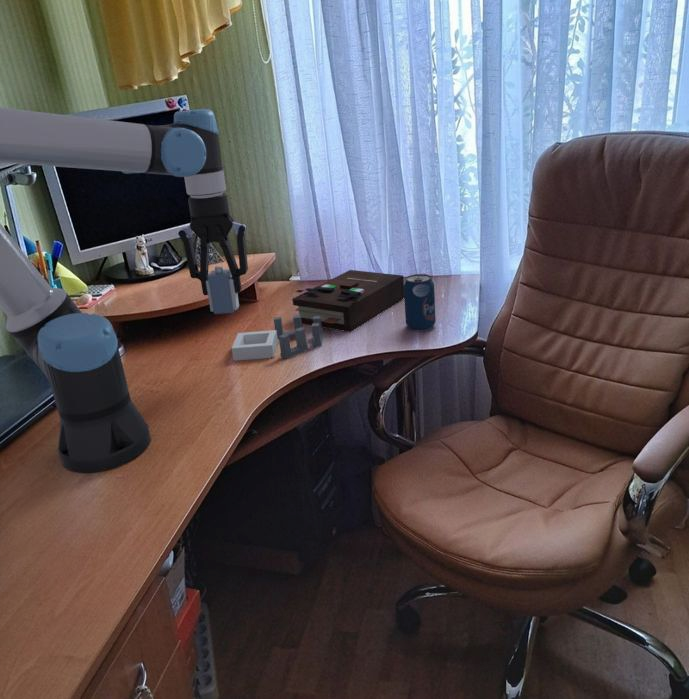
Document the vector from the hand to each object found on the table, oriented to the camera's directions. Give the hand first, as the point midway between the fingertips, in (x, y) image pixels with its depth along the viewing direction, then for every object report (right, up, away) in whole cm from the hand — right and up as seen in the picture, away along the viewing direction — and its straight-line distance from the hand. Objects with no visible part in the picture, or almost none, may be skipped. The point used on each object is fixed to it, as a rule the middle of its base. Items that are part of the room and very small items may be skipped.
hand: (225, 308), depth 137 cm
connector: (0, 0, 0) cm, 0 cm away
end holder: (+5, -9, +14) cm, 17 cm away
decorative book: (+27, +1, +33) cm, 43 cm away
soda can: (+43, -3, +18) cm, 47 cm away
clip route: (+14, -8, +14) cm, 21 cm away
